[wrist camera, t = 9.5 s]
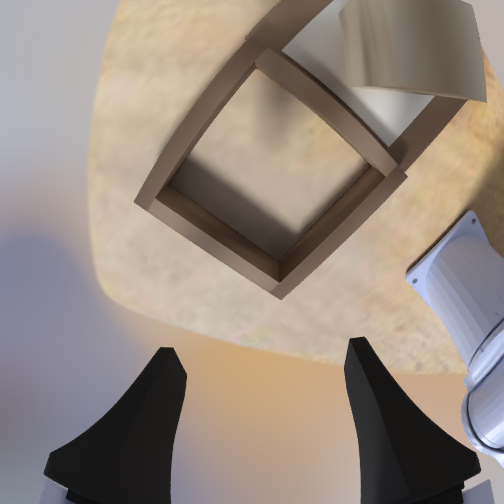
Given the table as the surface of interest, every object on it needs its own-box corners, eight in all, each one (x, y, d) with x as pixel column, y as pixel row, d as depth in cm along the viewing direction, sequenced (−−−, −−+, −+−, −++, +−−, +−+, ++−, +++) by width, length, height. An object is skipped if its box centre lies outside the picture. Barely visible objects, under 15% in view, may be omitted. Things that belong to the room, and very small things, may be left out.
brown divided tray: (471, 82, 11) (494, 84, 9) (284, 281, 20) (286, 303, 18) (344, -46, 8) (355, -62, 6) (143, 184, 17) (126, 197, 15)
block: (411, 24, 9) (471, 5, 4) (420, 94, 12) (486, 102, 7) (338, 13, 10) (376, -26, 5) (348, 88, 12) (396, 84, 7)
